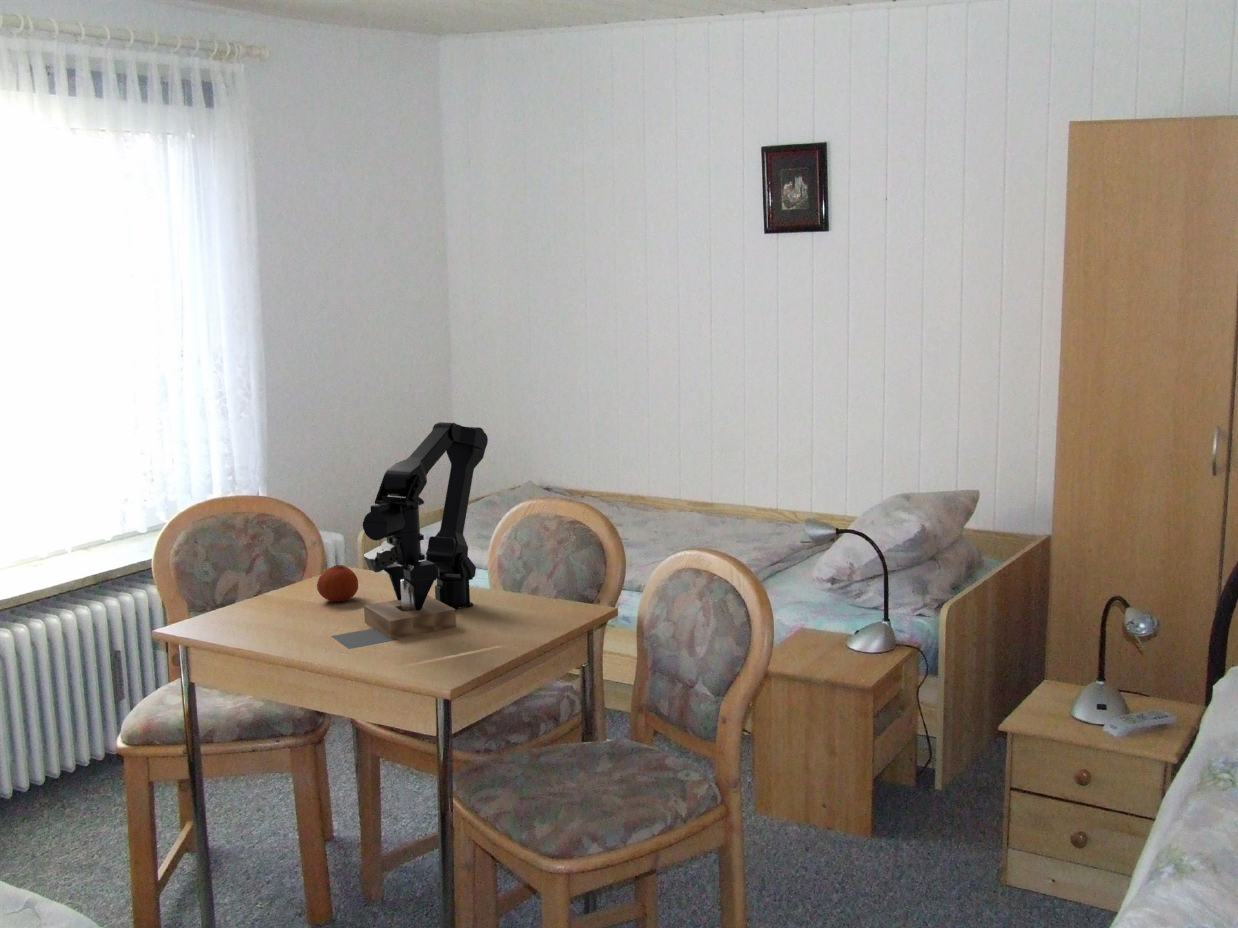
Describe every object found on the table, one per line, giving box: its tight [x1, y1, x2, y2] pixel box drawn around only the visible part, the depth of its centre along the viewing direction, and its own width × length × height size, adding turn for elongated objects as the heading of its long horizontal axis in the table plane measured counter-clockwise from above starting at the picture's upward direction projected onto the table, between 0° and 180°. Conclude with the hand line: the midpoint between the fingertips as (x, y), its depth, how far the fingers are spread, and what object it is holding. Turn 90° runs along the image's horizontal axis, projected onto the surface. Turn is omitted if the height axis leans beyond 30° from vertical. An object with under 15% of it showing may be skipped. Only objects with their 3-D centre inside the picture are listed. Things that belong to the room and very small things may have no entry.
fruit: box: [316, 564, 359, 603], centre depth 275 cm, size 9×9×8 cm
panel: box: [331, 627, 399, 650], centre depth 246 cm, size 10×10×1 cm
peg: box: [400, 577, 415, 612], centre depth 254 cm, size 3×3×10 cm
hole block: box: [363, 594, 457, 639], centre depth 254 cm, size 14×14×4 cm
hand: (409, 604), depth 254 cm, fingers open, 9 cm apart
